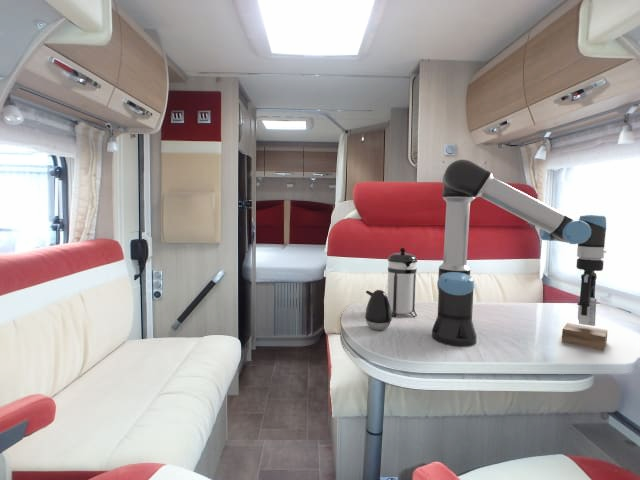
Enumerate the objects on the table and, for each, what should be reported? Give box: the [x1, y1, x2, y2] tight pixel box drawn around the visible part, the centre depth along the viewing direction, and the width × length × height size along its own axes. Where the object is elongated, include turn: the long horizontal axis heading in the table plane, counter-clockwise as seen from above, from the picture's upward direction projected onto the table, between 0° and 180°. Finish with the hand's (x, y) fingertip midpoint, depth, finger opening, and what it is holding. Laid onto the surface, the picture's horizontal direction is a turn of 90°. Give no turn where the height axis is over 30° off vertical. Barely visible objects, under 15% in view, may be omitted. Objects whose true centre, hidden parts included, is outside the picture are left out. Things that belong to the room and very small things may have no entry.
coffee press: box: [387, 247, 418, 318], centre depth 160 cm, size 17×16×30 cm
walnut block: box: [561, 322, 609, 351], centre depth 127 cm, size 10×12×5 cm
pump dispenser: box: [364, 289, 393, 331], centre depth 139 cm, size 10×10×15 cm
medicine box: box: [577, 296, 597, 327], centre depth 127 cm, size 8×4×9 cm, turn 148°
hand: (585, 321), depth 127 cm, fingers closed on medicine box, 8 cm apart
